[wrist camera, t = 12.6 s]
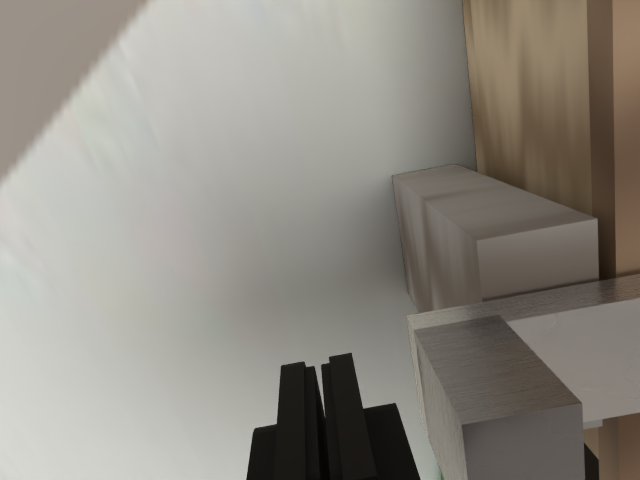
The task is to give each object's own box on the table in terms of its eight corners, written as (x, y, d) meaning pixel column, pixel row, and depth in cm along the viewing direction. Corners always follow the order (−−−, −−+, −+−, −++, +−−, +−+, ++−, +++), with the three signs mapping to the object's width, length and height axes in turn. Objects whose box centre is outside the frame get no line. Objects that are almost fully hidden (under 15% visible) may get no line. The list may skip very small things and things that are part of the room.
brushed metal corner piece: (720, 364, 13) (919, 487, 9) (420, 418, 13) (477, 565, 9) (726, 257, 12) (947, 337, 8) (406, 315, 12) (461, 424, 8)
